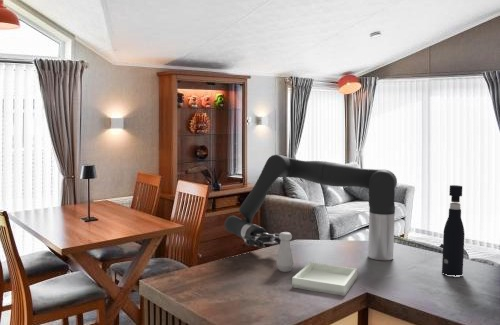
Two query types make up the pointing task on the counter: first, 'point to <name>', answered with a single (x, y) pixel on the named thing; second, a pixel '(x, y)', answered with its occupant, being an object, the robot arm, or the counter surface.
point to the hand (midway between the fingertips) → (272, 243)
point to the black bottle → (453, 236)
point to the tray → (325, 278)
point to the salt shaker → (285, 253)
